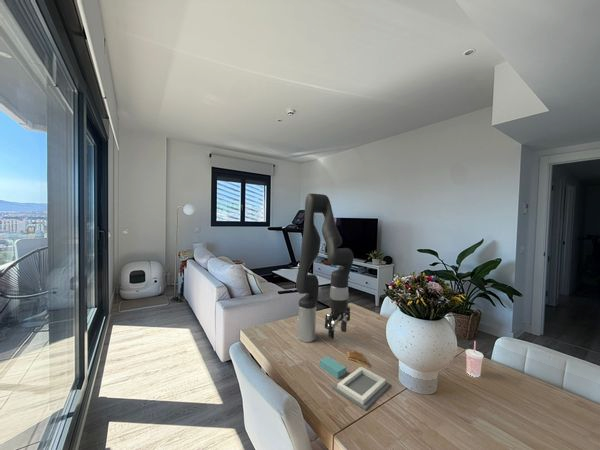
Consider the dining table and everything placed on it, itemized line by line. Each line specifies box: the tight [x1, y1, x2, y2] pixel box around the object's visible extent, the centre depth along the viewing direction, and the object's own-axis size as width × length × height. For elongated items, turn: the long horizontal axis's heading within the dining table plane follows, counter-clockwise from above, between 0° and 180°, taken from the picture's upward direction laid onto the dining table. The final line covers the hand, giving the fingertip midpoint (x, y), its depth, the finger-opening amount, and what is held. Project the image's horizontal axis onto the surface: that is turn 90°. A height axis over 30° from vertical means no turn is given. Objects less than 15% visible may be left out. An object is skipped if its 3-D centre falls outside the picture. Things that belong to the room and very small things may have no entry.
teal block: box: [319, 356, 347, 379], centre depth 103 cm, size 10×5×3 cm, turn 41°
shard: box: [347, 350, 371, 367], centre depth 111 cm, size 11×8×2 cm
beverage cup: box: [465, 340, 484, 378], centre depth 103 cm, size 6×6×14 cm
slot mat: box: [331, 366, 392, 411], centre depth 93 cm, size 14×18×2 cm
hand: (337, 334), depth 103 cm, fingers open, 8 cm apart
